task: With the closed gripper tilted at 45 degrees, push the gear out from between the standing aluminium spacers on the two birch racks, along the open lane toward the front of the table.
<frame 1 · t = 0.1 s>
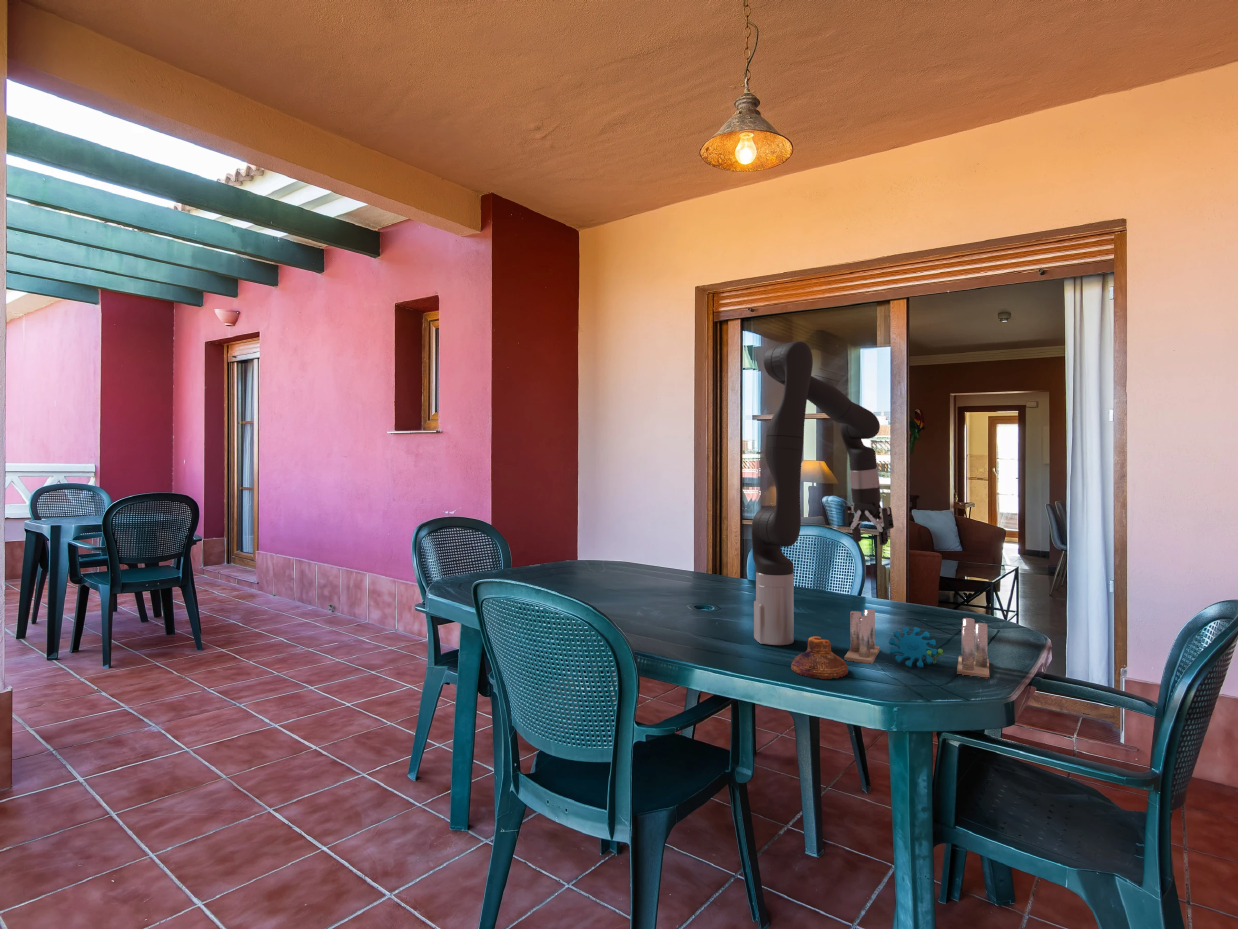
hand: (870, 543, 193), 22 cm above the table, tool pointing down, fingers open, 8 cm apart
bell: (819, 673, 150), on the table
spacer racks: (915, 663, 155), on the table
gear: (915, 665, 155), on the table
spacers: (916, 638, 156), on the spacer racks, point 5 cm above the table
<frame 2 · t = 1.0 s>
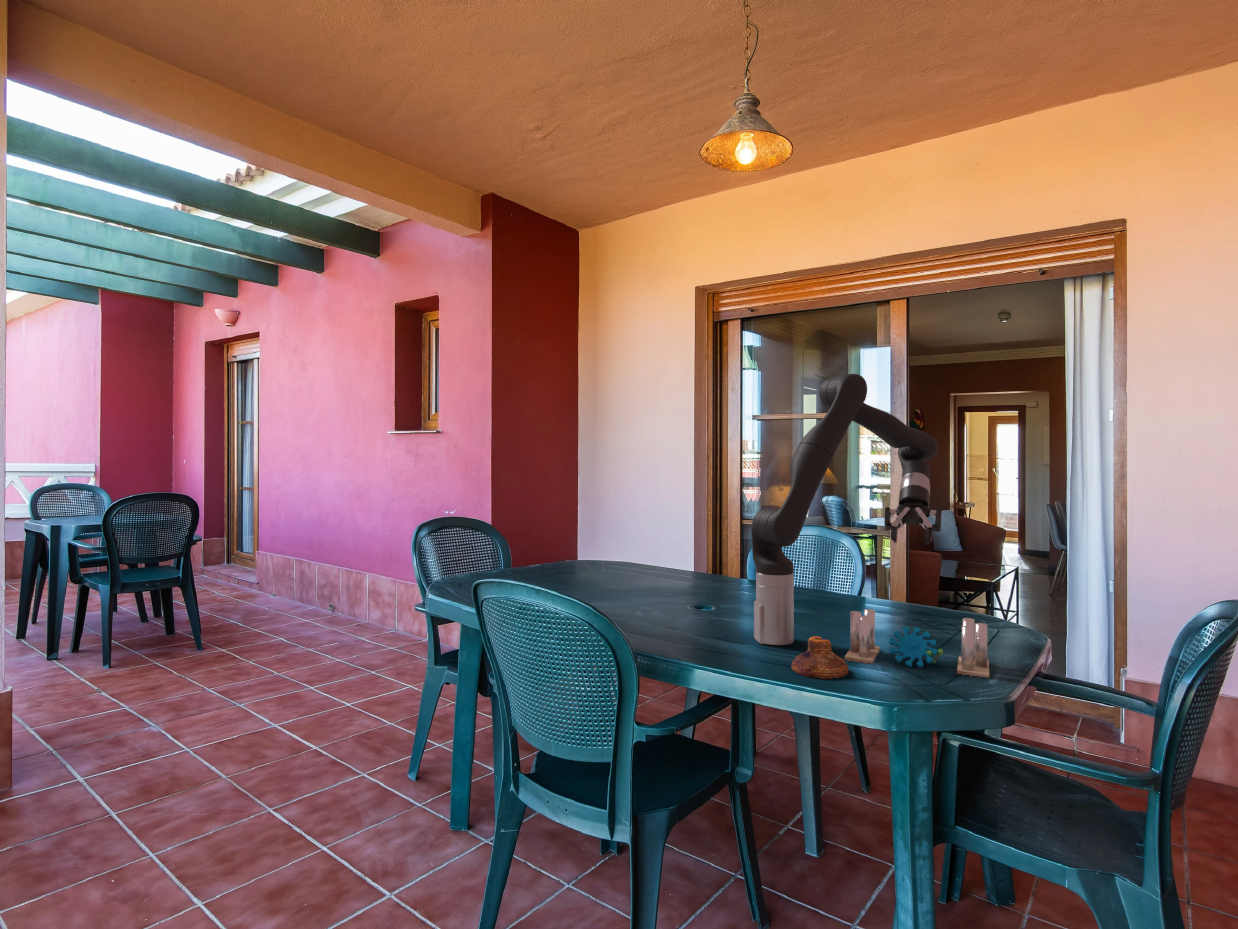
hand: (910, 541, 177), 25 cm above the table, tool tilted 45°, fingers open, 7 cm apart
nothing on the table moved.
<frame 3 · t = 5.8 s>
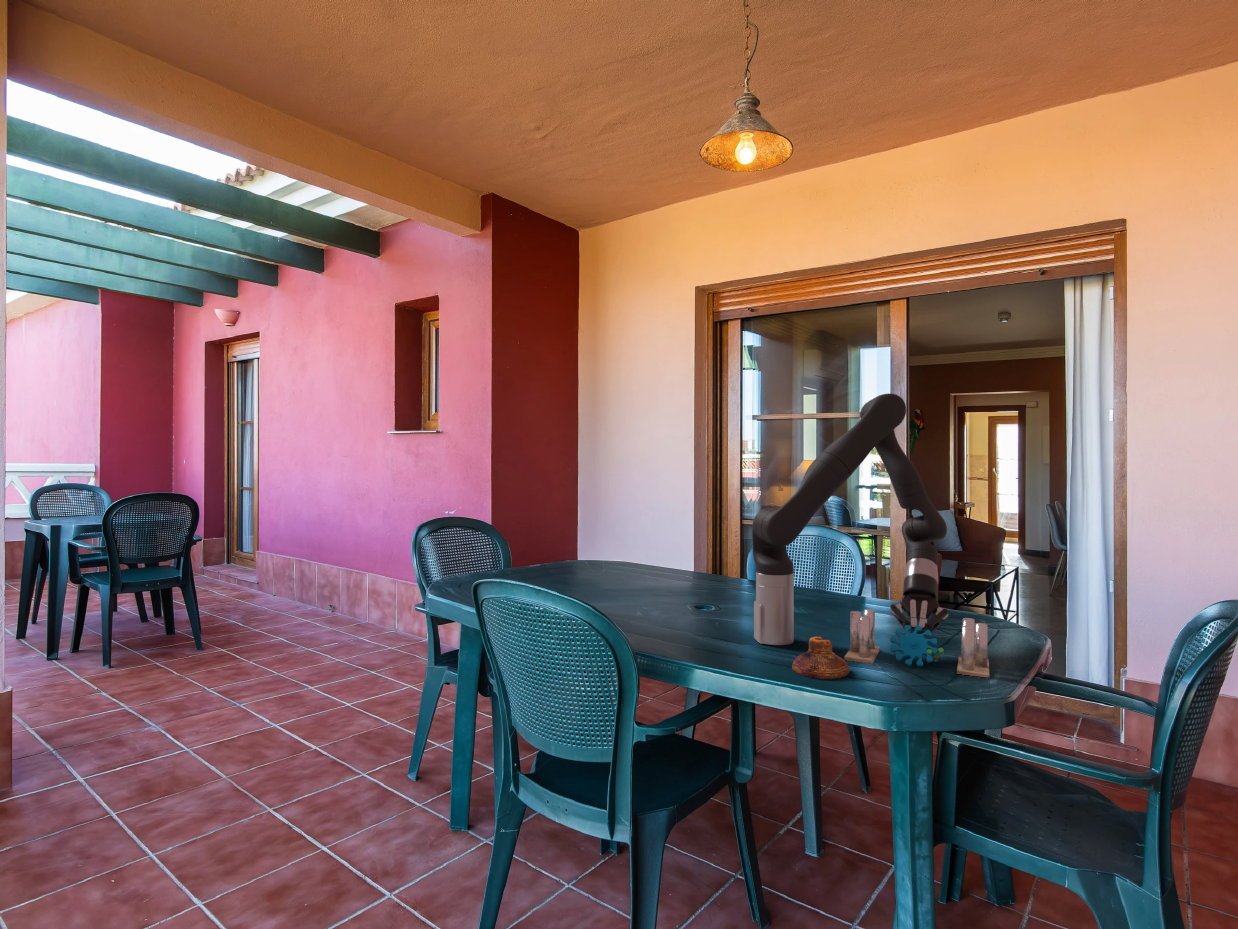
hand: (917, 644, 157), 4 cm above the table, tool tilted 45°, fingers closed
gear: (916, 663, 155), on the table, touching gripper
everything else where it was.
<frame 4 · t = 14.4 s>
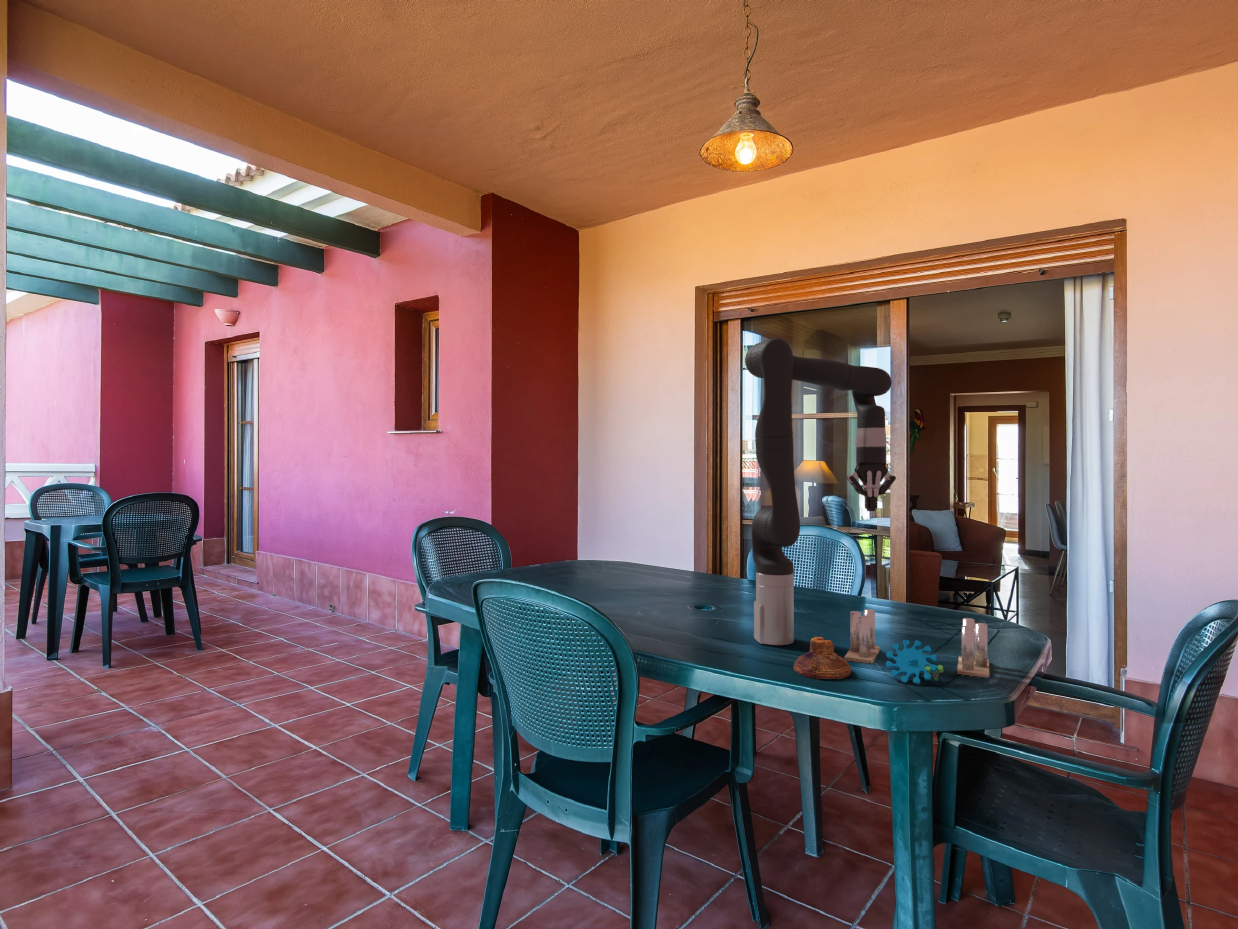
hand: (871, 511, 184), 32 cm above the table, tool pointing down, fingers closed
gear: (914, 681, 143), on the table
everything else where it was.
at the end: gear inside the target area (1.1 cm from its centre), on the table; gear moved 12.5 cm from its start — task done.
